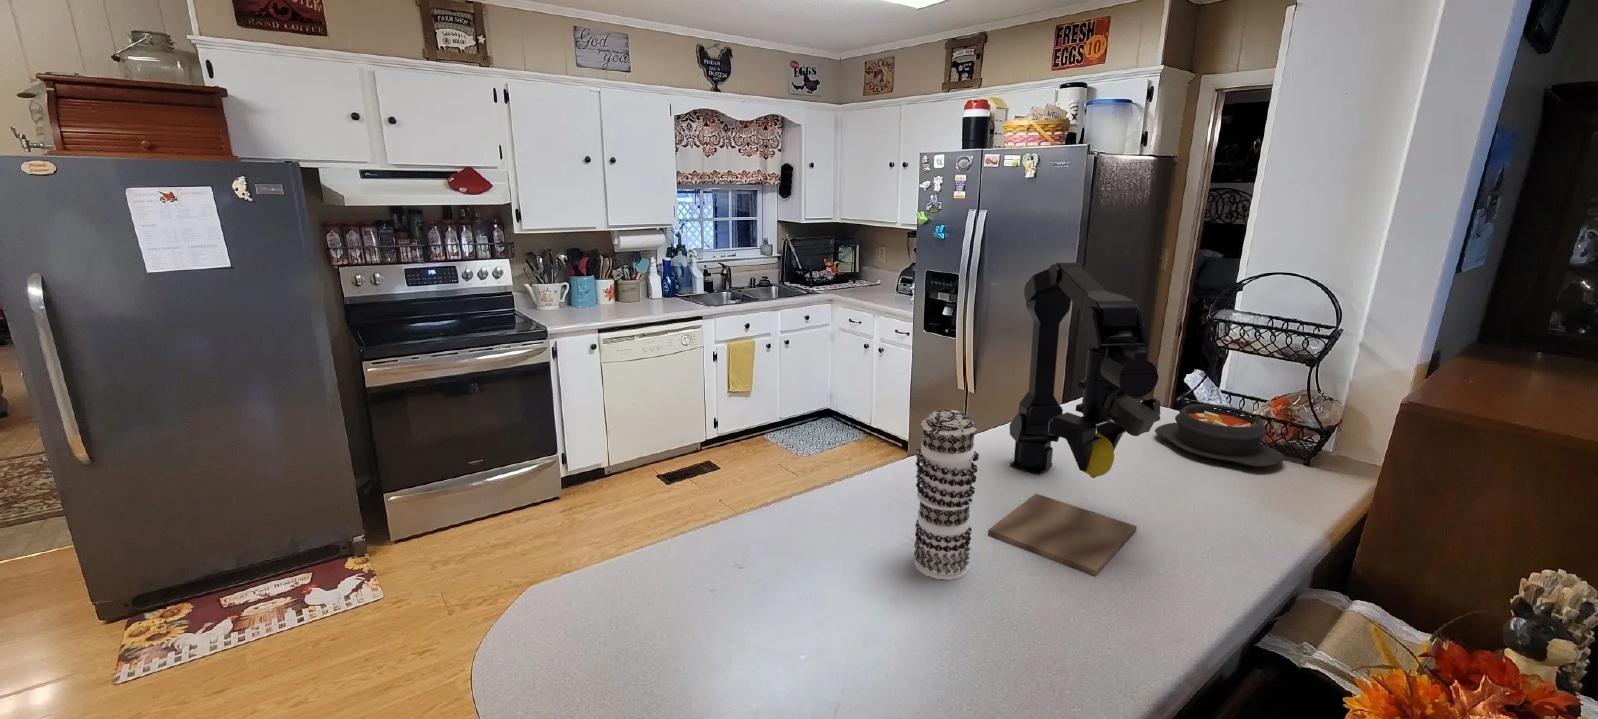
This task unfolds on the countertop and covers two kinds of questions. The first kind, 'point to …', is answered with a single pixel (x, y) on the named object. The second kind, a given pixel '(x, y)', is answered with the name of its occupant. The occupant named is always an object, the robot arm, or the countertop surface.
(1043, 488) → the countertop surface
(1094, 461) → the lemon
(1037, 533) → the walnut board
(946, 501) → the decorative candle
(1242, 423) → the casserole
